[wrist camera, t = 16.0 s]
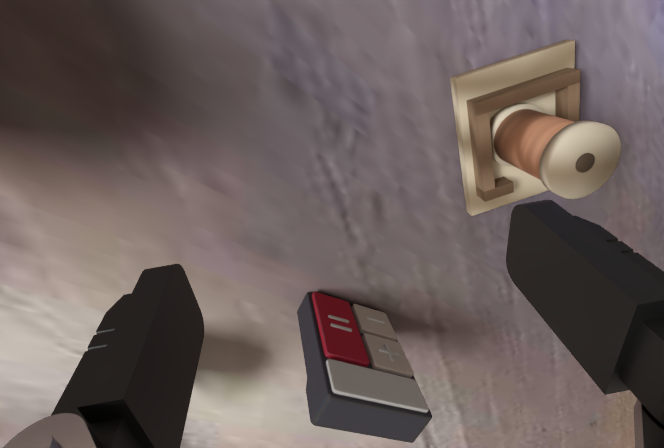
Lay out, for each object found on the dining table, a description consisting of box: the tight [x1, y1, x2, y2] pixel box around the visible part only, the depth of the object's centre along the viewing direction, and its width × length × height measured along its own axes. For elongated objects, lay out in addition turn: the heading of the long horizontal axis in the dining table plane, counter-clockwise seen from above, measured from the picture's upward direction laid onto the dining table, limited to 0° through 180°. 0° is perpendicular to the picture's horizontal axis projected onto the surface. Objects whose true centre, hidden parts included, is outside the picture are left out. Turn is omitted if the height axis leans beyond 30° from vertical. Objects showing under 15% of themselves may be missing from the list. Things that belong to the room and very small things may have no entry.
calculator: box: [297, 292, 432, 443], centre depth 41 cm, size 11×4×15 cm, turn 64°
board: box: [450, 40, 580, 216], centre depth 40 cm, size 15×12×3 cm
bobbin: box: [490, 103, 621, 199], centre depth 36 cm, size 6×6×10 cm
